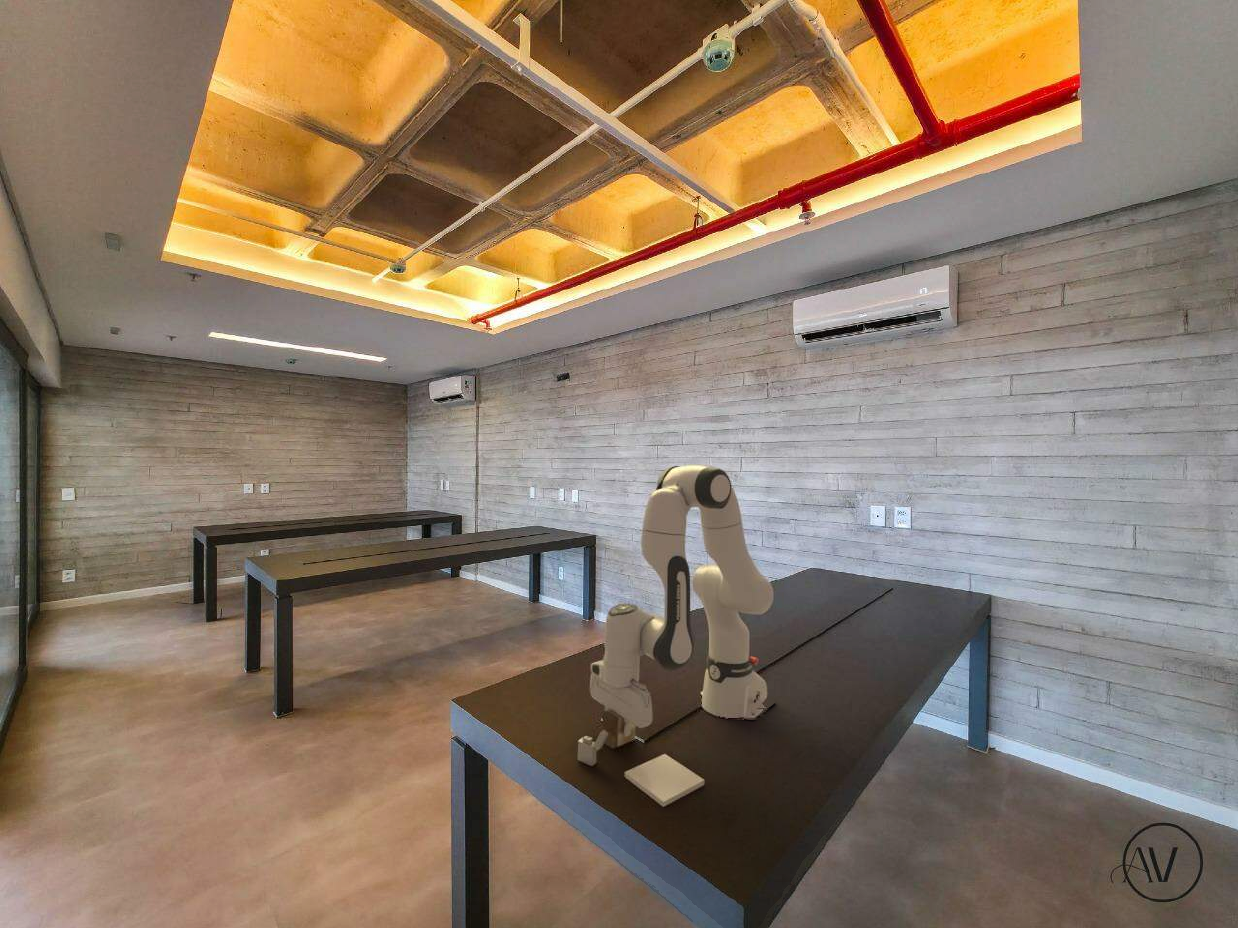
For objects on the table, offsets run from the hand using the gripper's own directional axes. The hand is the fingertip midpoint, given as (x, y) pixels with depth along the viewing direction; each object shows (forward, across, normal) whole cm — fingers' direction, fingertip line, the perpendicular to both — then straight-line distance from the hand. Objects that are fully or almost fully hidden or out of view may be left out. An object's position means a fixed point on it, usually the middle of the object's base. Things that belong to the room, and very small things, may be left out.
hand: (618, 729), depth 124 cm
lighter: (+3, -4, +11) cm, 12 cm away
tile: (+3, -18, +2) cm, 18 cm away
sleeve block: (+3, 0, 0) cm, 3 cm away
